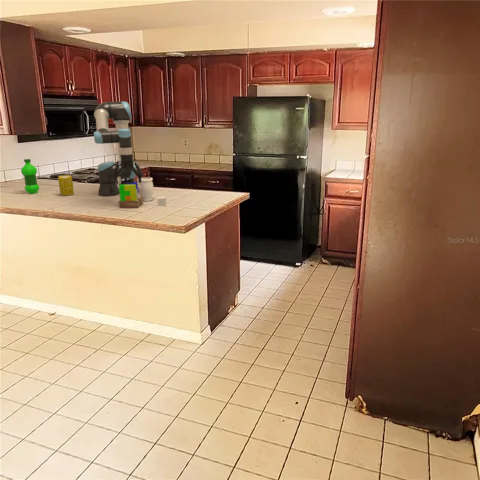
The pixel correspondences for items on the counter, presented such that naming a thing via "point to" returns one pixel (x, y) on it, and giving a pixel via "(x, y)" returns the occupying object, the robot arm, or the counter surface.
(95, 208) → the counter surface
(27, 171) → the plastic bottle
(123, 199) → the puzzle toy
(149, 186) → the jar
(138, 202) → the walnut block
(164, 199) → the beige wooden block
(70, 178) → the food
